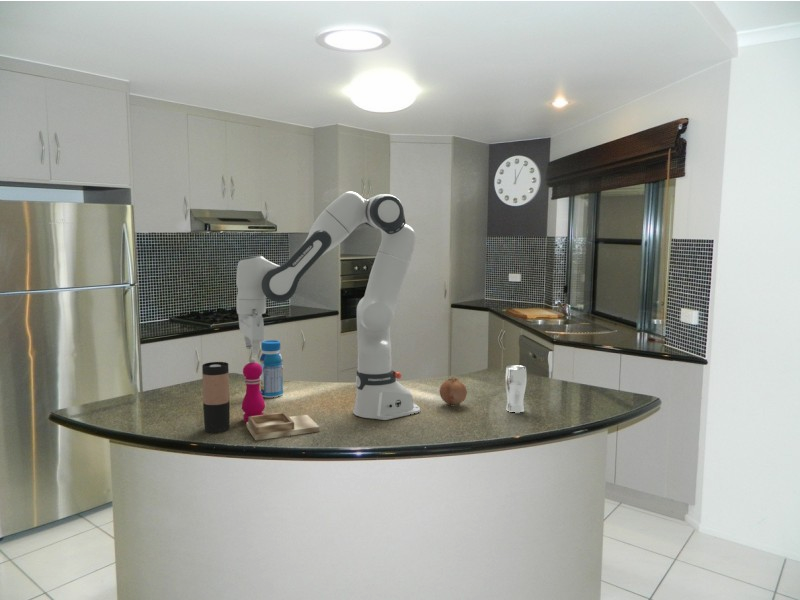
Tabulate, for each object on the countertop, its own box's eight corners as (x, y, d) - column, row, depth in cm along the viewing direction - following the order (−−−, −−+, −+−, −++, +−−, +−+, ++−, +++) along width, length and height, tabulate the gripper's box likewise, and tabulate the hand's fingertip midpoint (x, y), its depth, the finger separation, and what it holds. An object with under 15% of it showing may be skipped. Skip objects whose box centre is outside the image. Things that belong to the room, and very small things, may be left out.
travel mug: (199, 429, 176) (197, 364, 174) (222, 423, 181) (221, 360, 179) (211, 435, 171) (209, 368, 169) (235, 429, 176) (233, 364, 174)
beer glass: (508, 406, 202) (510, 364, 200) (528, 409, 198) (529, 366, 196) (501, 411, 196) (502, 368, 194) (521, 415, 192) (522, 370, 190)
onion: (443, 400, 208) (443, 373, 207) (469, 403, 205) (469, 375, 204) (436, 407, 200) (436, 379, 198) (462, 410, 196) (463, 381, 195)
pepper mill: (259, 423, 181) (258, 360, 179) (237, 422, 183) (236, 359, 181) (269, 417, 188) (267, 356, 186) (248, 415, 190) (246, 355, 188)
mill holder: (306, 419, 186) (306, 408, 186) (319, 431, 175) (319, 420, 174) (246, 427, 178) (246, 416, 178) (255, 440, 167) (255, 428, 166)
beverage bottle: (272, 399, 208) (271, 344, 206) (255, 396, 212) (253, 342, 210) (288, 394, 216) (287, 340, 213) (271, 391, 220) (270, 338, 218)
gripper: (269, 311, 174) (269, 356, 175) (254, 303, 192) (255, 345, 193) (247, 312, 171) (248, 358, 172) (235, 304, 189) (235, 346, 191)
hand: (251, 351), depth 183 cm, fingers open, 8 cm apart
